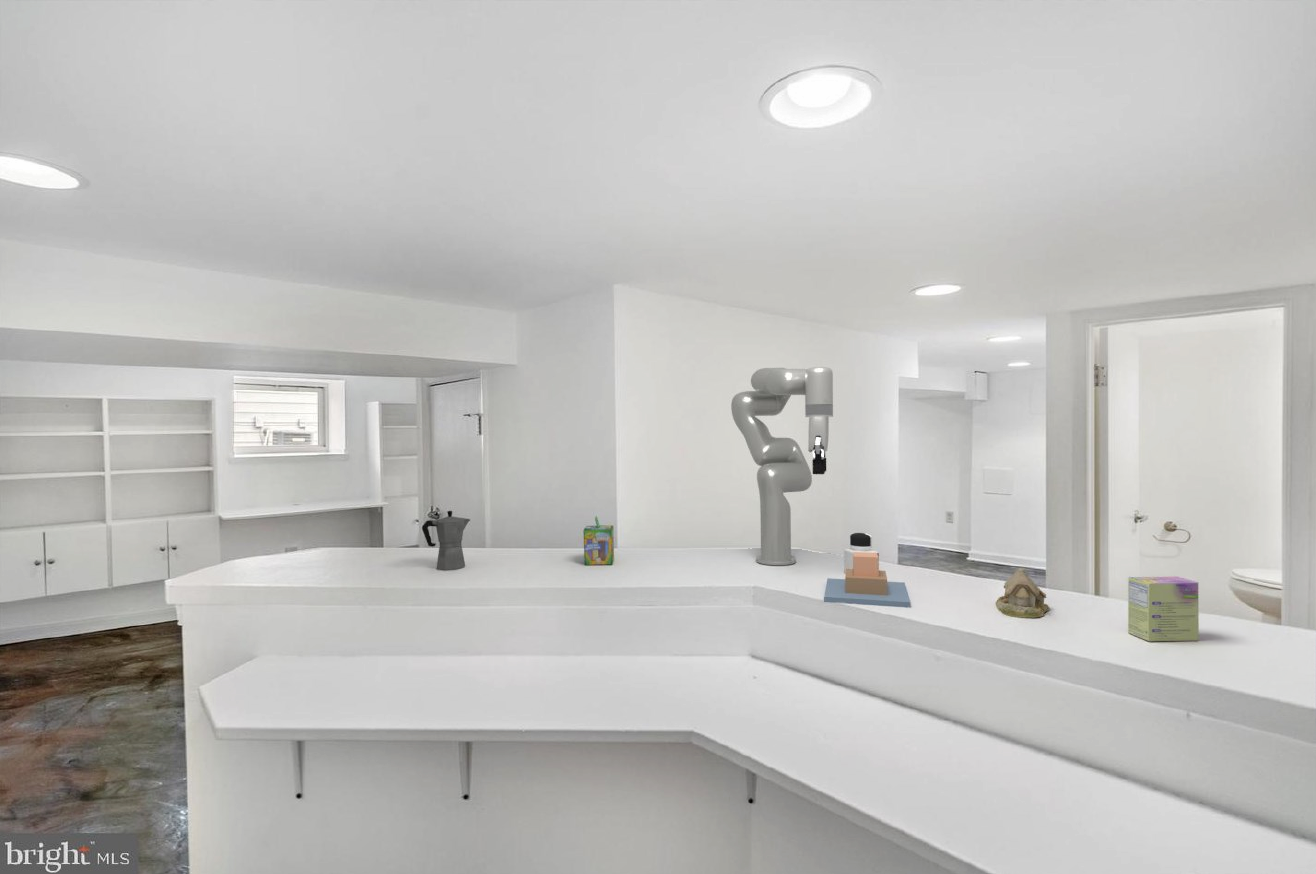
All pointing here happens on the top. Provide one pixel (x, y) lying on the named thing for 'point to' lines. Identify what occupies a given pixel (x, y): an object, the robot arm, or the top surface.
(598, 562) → the chalk box
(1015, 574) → the ceramic model
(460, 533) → the coffeepot
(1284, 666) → the top surface
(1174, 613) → the box
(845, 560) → the medicine bottle
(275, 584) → the top surface
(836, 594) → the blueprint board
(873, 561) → the terracotta block
